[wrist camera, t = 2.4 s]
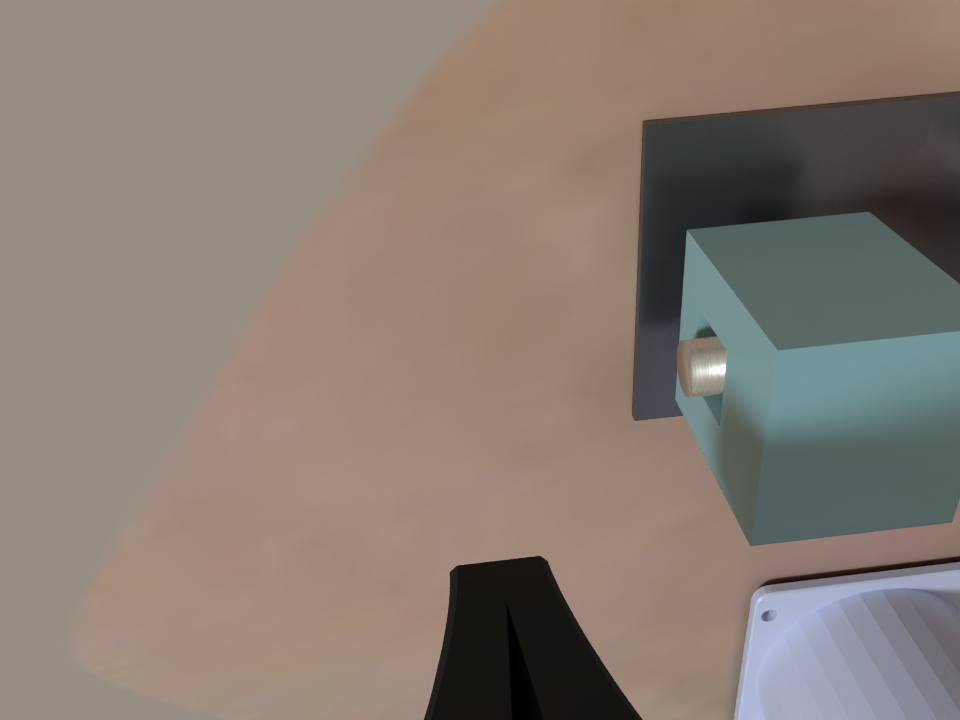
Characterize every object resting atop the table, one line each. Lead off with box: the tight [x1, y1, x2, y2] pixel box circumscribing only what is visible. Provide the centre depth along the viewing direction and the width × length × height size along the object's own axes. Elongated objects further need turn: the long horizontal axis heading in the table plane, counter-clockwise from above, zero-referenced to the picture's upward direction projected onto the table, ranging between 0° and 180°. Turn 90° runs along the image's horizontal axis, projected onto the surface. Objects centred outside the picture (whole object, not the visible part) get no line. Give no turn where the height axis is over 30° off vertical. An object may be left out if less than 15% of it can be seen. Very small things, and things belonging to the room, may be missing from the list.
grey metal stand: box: [632, 92, 960, 421], centre depth 19 cm, size 8×11×6 cm
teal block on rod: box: [675, 212, 960, 546], centre depth 18 cm, size 4×4×5 cm
